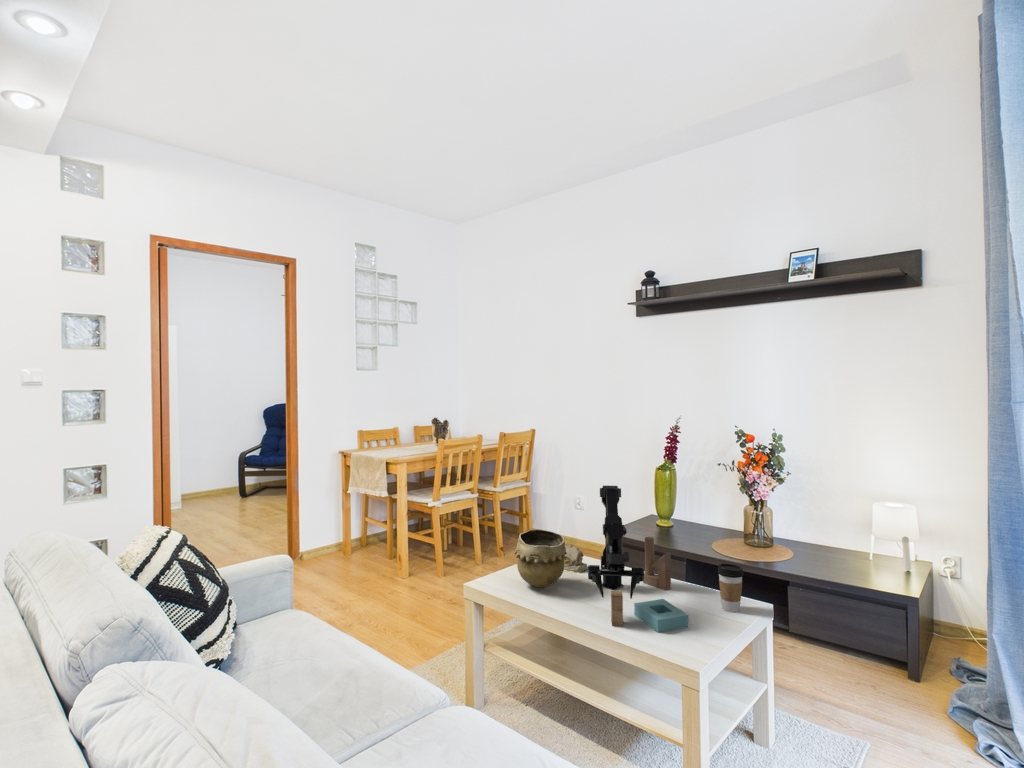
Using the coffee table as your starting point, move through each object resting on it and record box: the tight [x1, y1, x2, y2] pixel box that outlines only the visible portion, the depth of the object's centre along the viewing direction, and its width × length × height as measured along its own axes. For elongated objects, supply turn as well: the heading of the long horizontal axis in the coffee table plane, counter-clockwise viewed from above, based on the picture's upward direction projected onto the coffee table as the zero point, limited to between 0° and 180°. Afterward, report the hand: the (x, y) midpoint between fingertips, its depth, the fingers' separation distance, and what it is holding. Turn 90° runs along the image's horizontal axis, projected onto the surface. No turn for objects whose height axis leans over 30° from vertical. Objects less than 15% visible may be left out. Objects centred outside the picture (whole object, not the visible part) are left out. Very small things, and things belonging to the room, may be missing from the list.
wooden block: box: [642, 536, 672, 591], centre depth 215 cm, size 4×11×18 cm, turn 39°
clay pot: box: [513, 528, 567, 588], centre depth 216 cm, size 21×21×20 cm
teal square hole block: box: [633, 598, 689, 633], centre depth 183 cm, size 14×12×4 cm
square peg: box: [610, 590, 624, 627], centre depth 181 cm, size 4×4×10 cm
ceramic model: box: [563, 543, 588, 573], centre depth 237 cm, size 14×11×10 cm
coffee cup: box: [717, 563, 744, 613], centre depth 192 cm, size 8×8×15 cm
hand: (616, 597), depth 181 cm, fingers open, 9 cm apart
